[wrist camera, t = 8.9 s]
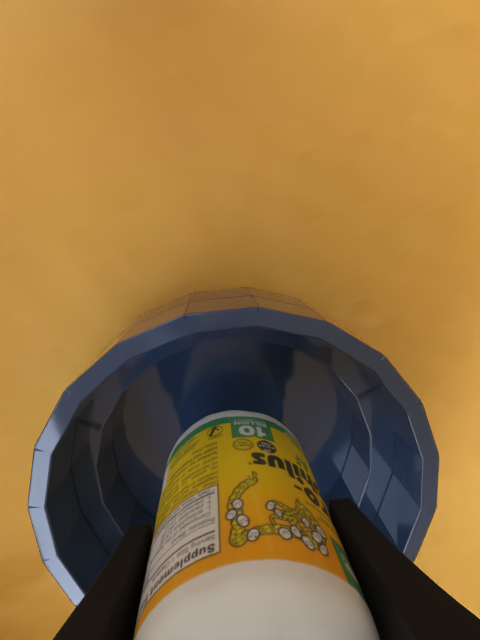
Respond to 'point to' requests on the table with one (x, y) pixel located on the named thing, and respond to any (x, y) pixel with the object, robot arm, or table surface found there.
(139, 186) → the table surface
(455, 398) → the table surface
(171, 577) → the supplement bottle
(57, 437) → the bowl
